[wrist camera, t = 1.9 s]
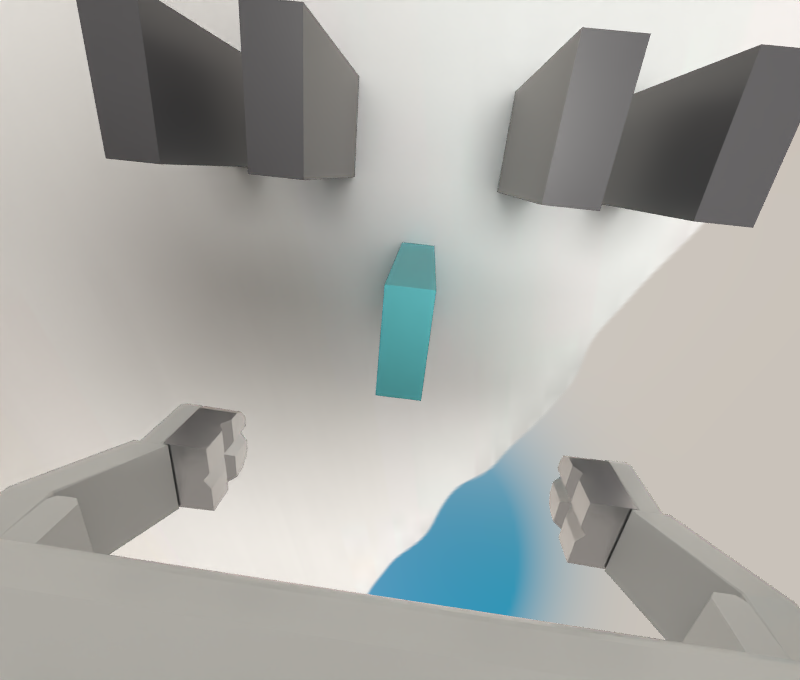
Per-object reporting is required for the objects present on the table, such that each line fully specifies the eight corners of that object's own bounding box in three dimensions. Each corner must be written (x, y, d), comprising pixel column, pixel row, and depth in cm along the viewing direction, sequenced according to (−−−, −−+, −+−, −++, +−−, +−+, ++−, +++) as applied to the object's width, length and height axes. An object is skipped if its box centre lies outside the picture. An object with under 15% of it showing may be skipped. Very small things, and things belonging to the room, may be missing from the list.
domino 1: (264, 66, 21) (135, -15, 12) (267, 167, 23) (160, 164, 14) (227, 63, 21) (72, -20, 12) (234, 163, 23) (105, 158, 14)
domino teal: (434, 245, 24) (436, 290, 15) (424, 321, 26) (421, 400, 17) (402, 242, 24) (384, 284, 15) (394, 317, 26) (375, 395, 17)
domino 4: (652, 105, 20) (832, 50, 11) (622, 205, 22) (753, 227, 13) (614, 101, 21) (761, 44, 11) (587, 201, 23) (693, 221, 13)
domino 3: (553, 95, 21) (650, 33, 11) (531, 195, 23) (599, 211, 13) (515, 91, 21) (582, 27, 12) (497, 192, 23) (541, 204, 14)
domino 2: (359, 76, 21) (303, 2, 12) (354, 176, 23) (303, 179, 14) (322, 72, 21) (238, -5, 12) (320, 173, 23) (248, 174, 14)
